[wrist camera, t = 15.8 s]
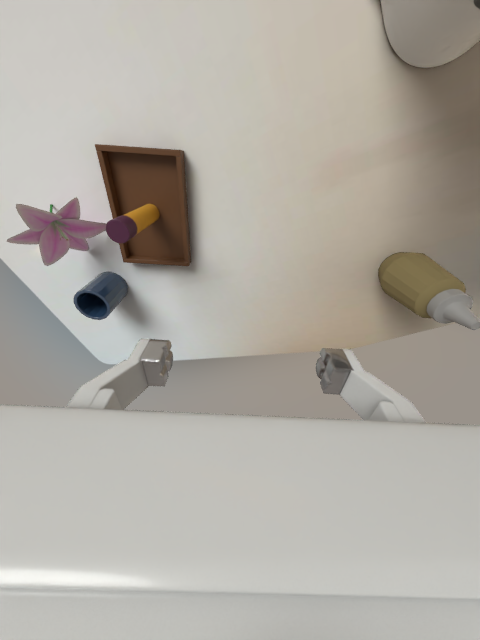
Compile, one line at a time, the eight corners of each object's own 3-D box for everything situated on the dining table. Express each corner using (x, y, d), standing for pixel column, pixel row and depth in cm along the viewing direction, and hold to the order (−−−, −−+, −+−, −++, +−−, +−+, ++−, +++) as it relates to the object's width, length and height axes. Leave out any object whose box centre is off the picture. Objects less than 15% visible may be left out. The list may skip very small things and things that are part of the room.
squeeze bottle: (411, 285, 44) (495, 348, 29) (367, 289, 45) (428, 353, 30) (425, 243, 39) (534, 292, 25) (376, 248, 40) (454, 300, 25)
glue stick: (141, 202, 36) (102, 218, 26) (158, 203, 36) (126, 220, 26) (144, 221, 37) (109, 242, 28) (161, 222, 37) (131, 244, 28)
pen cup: (93, 270, 43) (68, 289, 37) (124, 272, 43) (104, 291, 37) (102, 297, 46) (80, 318, 40) (130, 299, 47) (113, 320, 40)
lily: (59, 254, 42) (56, 288, 37) (-14, 193, 33) (-31, 226, 27) (117, 226, 43) (123, 255, 38) (63, 157, 33) (61, 183, 28)
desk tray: (102, 145, 32) (94, 144, 31) (183, 150, 33) (180, 150, 31) (128, 258, 42) (123, 262, 40) (191, 261, 42) (189, 266, 40)
